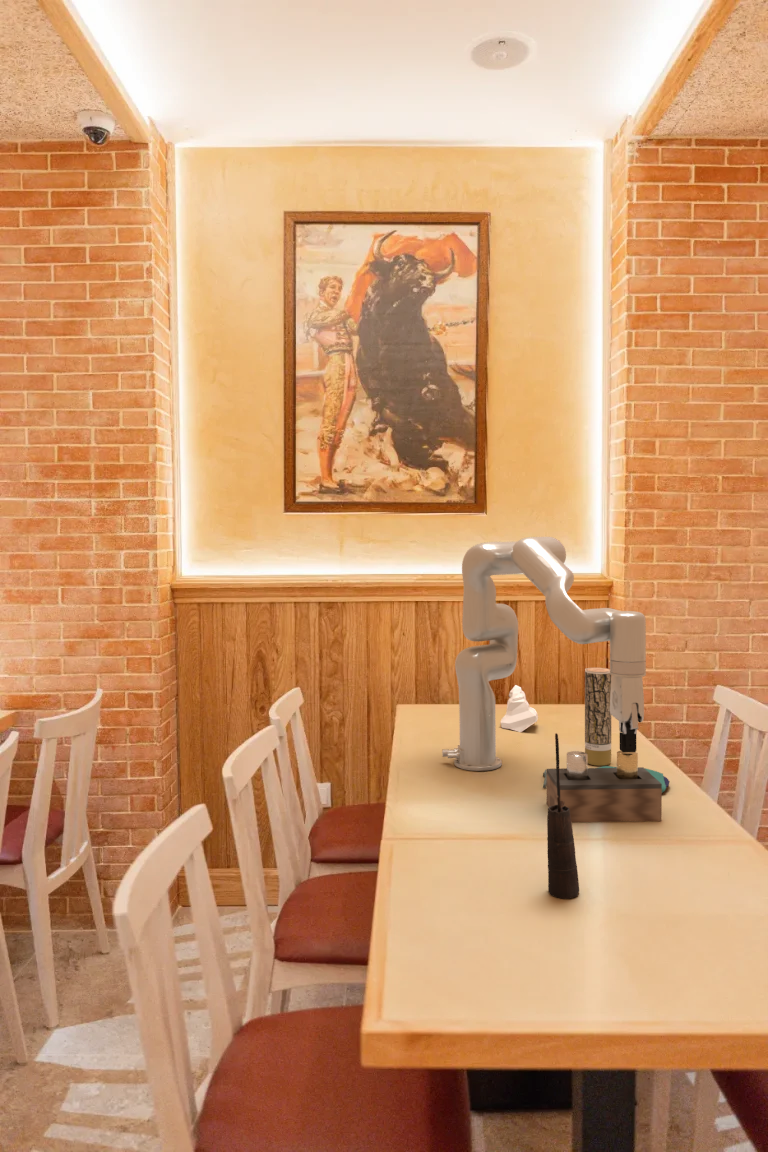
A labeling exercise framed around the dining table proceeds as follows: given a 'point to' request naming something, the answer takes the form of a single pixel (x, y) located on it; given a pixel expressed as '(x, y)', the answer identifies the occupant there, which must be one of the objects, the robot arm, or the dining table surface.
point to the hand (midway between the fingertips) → (627, 751)
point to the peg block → (607, 796)
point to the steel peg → (576, 765)
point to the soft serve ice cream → (518, 711)
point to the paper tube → (597, 716)
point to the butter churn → (561, 847)
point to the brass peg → (627, 765)
